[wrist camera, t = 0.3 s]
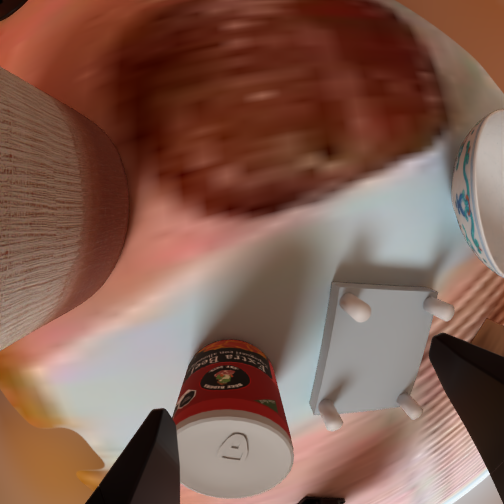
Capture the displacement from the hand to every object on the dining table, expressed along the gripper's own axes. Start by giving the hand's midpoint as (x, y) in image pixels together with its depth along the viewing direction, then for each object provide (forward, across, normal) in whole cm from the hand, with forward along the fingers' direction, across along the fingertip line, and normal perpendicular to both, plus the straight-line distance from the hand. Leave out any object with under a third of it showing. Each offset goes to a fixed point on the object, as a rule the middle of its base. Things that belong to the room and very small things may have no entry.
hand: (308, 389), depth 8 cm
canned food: (+13, +5, +12) cm, 18 cm away
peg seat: (+13, -8, +12) cm, 20 cm away
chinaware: (+16, -23, +2) cm, 28 cm away
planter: (+18, +17, -6) cm, 26 cm away
